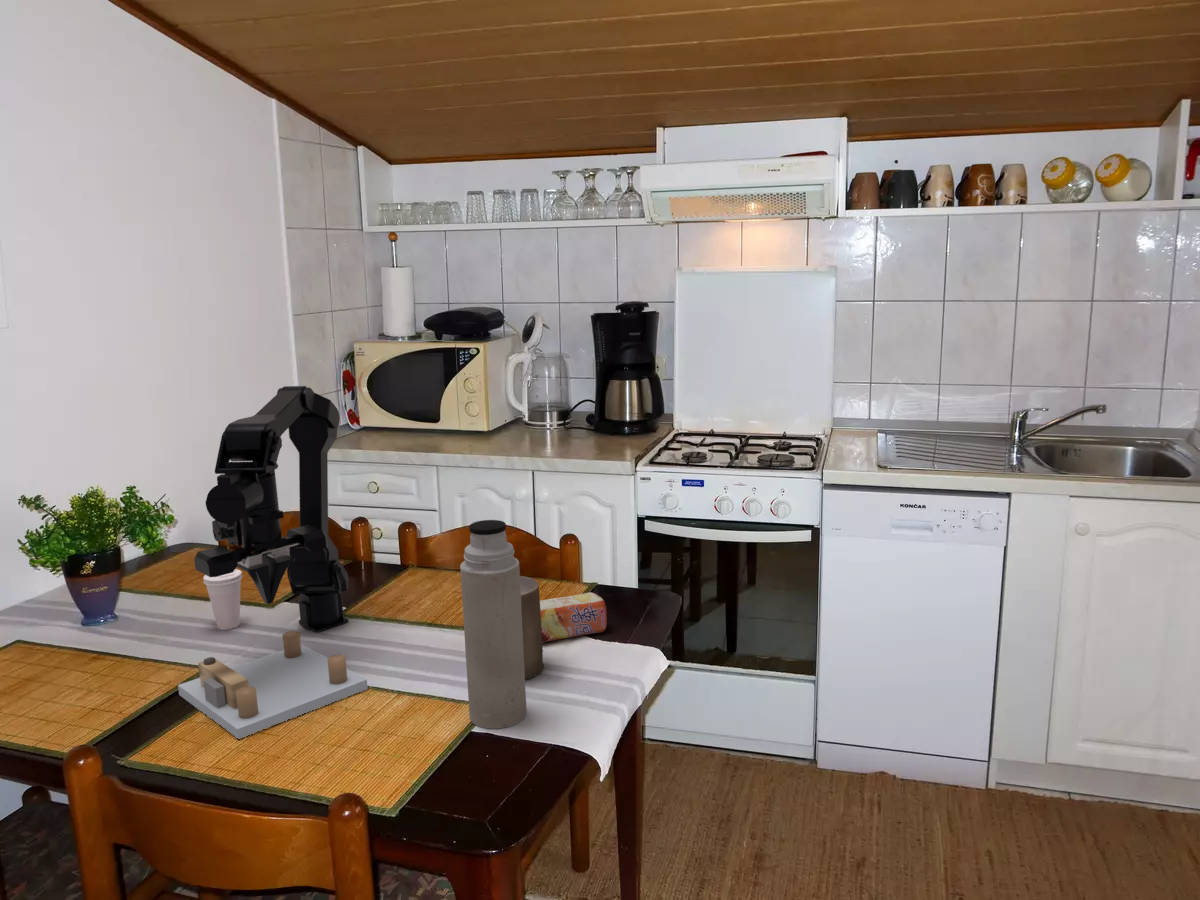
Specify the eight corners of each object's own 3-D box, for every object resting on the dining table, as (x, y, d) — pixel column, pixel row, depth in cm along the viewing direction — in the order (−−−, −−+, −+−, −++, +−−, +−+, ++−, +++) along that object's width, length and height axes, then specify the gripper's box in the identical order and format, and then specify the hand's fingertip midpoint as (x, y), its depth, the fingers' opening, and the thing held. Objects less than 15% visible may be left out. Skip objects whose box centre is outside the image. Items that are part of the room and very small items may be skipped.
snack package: (595, 621, 165) (594, 585, 164) (610, 635, 159) (608, 597, 158) (477, 643, 157) (475, 605, 156) (488, 658, 151) (486, 618, 150)
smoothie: (234, 634, 164) (225, 557, 161) (201, 632, 165) (192, 555, 162) (254, 619, 170) (246, 545, 167) (222, 618, 171) (214, 544, 168)
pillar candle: (552, 658, 150) (547, 569, 147) (531, 685, 141) (526, 590, 138) (495, 654, 152) (489, 566, 149) (471, 680, 143) (464, 586, 140)
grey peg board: (302, 652, 155) (299, 623, 154) (367, 689, 141) (364, 657, 140) (179, 695, 141) (175, 663, 140) (238, 740, 127) (234, 705, 126)
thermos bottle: (484, 698, 137) (474, 513, 131) (535, 705, 134) (526, 517, 129) (459, 724, 130) (446, 529, 124) (512, 732, 127) (502, 533, 121)
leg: (201, 684, 140) (197, 659, 139) (216, 679, 142) (213, 654, 141) (234, 708, 133) (231, 682, 132) (250, 702, 134) (247, 676, 133)
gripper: (290, 484, 153) (299, 576, 156) (173, 509, 140) (186, 607, 143) (324, 495, 145) (333, 591, 148) (204, 522, 132) (217, 626, 135)
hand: (268, 603), depth 144 cm, fingers closed
